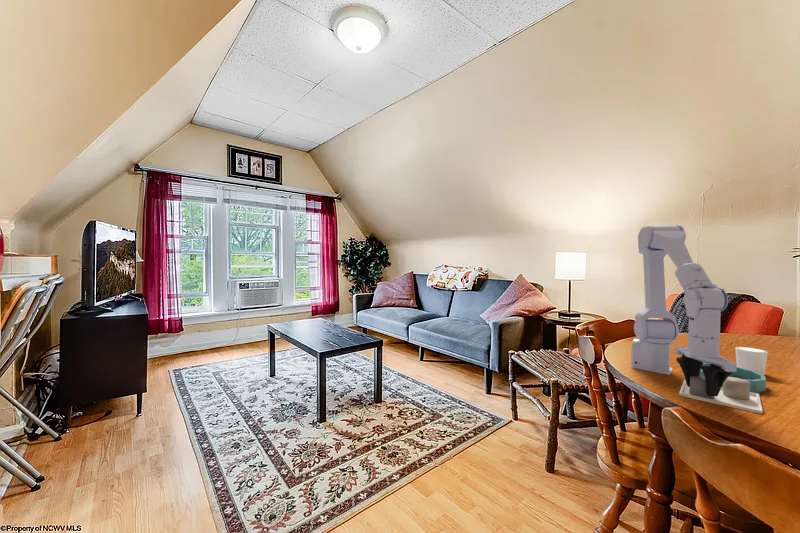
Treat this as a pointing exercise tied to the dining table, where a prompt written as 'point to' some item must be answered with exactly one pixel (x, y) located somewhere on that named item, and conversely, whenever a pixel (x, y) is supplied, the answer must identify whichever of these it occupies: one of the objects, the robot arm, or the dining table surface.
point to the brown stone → (736, 388)
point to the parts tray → (727, 400)
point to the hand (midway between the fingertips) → (701, 391)
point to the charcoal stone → (699, 387)
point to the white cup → (751, 359)
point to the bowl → (746, 378)
